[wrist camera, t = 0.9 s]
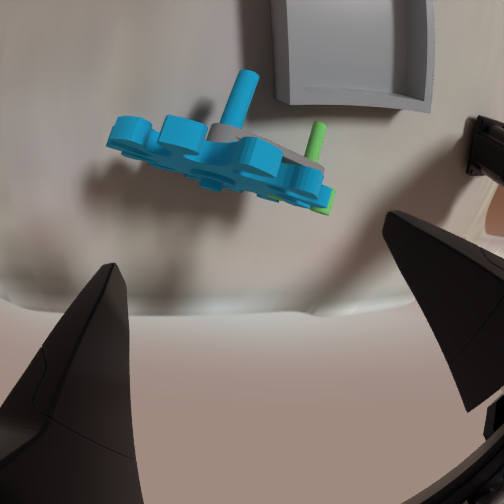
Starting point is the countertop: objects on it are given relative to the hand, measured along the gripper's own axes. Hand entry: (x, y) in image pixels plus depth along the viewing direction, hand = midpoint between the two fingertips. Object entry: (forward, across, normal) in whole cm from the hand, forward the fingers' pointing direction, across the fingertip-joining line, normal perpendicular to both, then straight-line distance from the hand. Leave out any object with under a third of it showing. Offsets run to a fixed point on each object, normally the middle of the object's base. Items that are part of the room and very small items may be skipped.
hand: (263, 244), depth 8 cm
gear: (+11, 0, 0) cm, 11 cm away
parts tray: (+10, -9, -10) cm, 17 cm away
